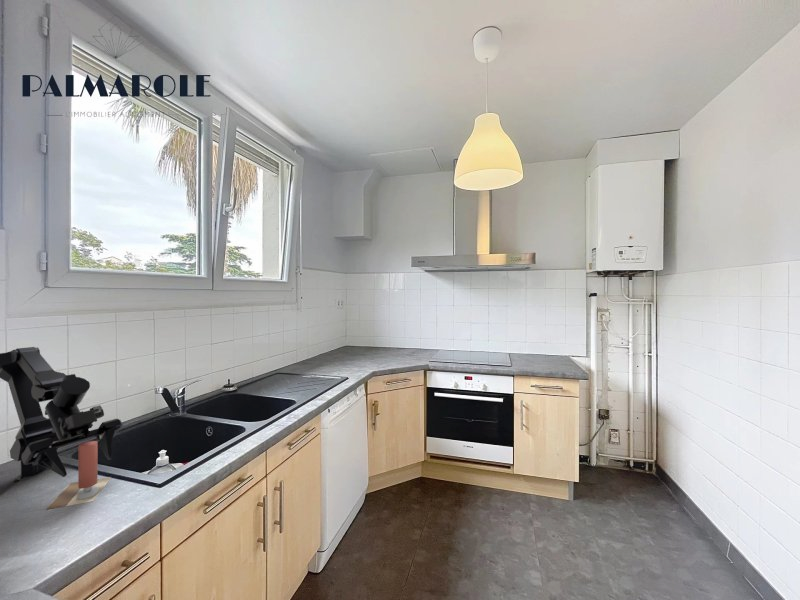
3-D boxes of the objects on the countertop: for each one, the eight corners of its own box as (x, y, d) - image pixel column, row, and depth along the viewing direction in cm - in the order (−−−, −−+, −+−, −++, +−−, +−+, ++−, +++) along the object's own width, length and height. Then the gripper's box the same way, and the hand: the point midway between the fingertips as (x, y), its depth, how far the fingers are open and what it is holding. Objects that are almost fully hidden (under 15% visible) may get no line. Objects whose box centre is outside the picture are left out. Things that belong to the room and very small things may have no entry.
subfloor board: (69, 487, 92) (69, 483, 92) (111, 481, 95) (111, 476, 95) (44, 514, 81) (44, 509, 81) (93, 505, 84) (93, 500, 84)
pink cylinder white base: (81, 492, 87) (81, 442, 87) (101, 489, 89) (101, 439, 89) (74, 501, 84) (74, 448, 84) (94, 497, 85) (94, 446, 85)
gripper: (26, 409, 80) (50, 466, 75) (119, 389, 97) (142, 435, 92) (11, 437, 83) (33, 492, 79) (103, 413, 100) (125, 457, 96)
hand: (88, 467), depth 86 cm, fingers open, 9 cm apart
